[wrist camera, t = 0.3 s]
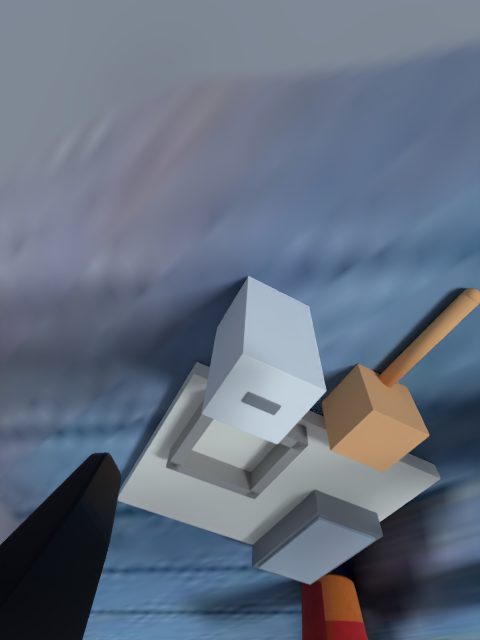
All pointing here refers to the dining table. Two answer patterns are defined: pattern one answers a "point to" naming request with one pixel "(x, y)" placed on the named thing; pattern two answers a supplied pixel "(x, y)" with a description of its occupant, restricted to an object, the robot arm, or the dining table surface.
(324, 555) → the grey piece
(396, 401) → the cable plug
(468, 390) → the dining table surface
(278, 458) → the board
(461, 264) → the dining table surface
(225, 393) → the block
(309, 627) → the paper cup
